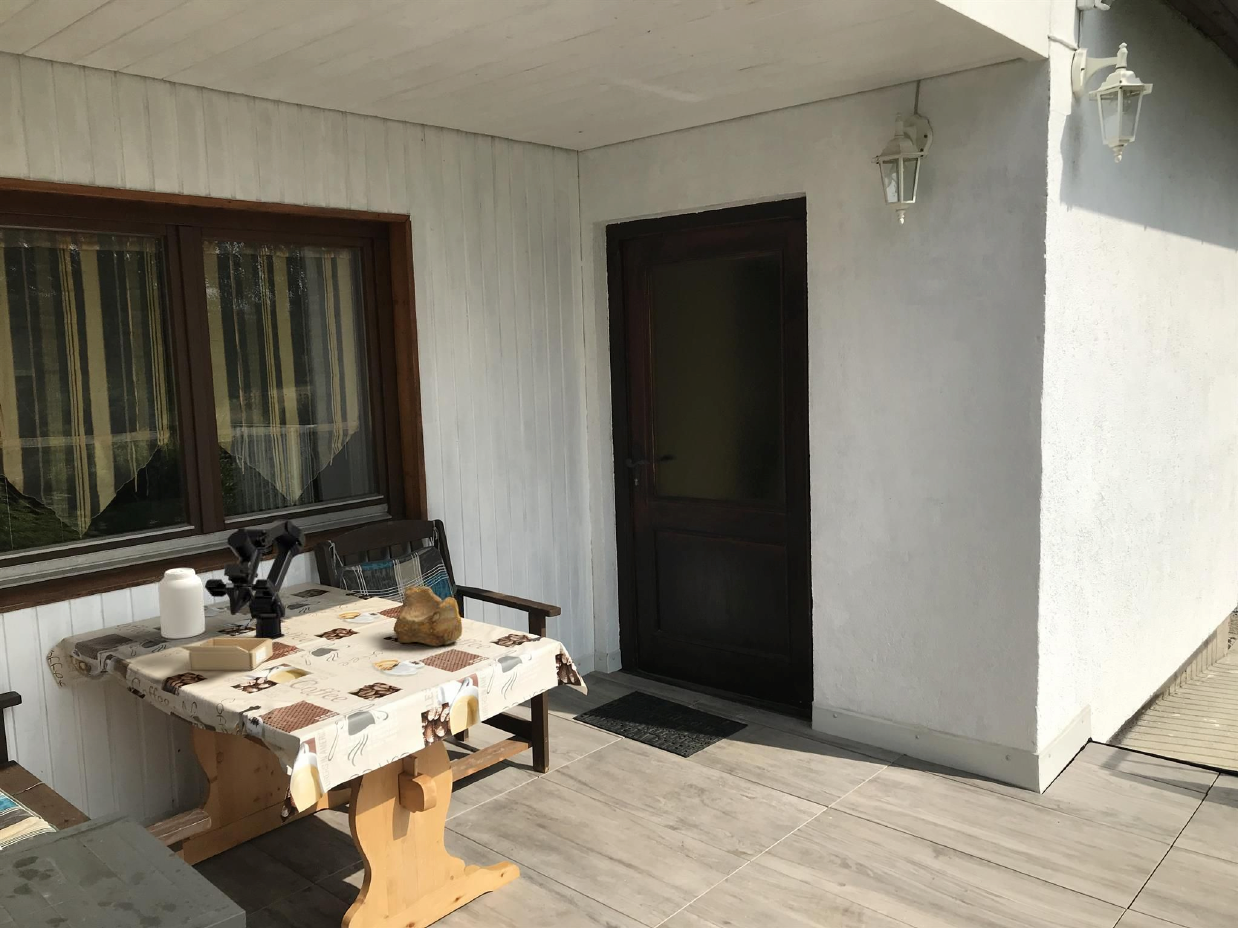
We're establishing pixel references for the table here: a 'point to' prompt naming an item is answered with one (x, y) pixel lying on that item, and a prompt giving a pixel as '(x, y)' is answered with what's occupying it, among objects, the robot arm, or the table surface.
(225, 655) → the carton
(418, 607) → the rough brown rock
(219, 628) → the table surface
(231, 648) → the flap
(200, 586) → the white jar
